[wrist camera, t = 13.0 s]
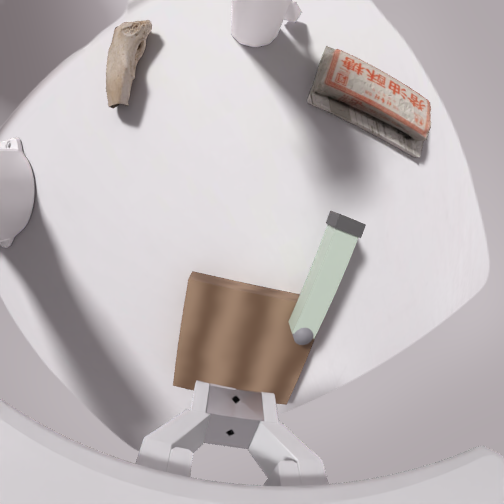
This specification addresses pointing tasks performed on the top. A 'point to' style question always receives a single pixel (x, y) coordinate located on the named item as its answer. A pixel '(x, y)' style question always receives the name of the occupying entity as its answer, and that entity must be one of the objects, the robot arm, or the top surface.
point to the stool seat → (238, 337)
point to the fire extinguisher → (261, 20)
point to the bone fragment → (124, 59)
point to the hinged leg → (324, 276)
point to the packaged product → (371, 100)
